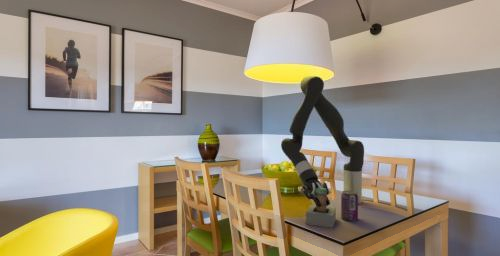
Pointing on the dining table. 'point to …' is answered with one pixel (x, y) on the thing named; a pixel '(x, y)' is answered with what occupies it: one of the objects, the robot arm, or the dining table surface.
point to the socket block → (321, 217)
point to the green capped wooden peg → (321, 199)
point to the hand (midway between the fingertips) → (324, 205)
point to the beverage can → (349, 205)
